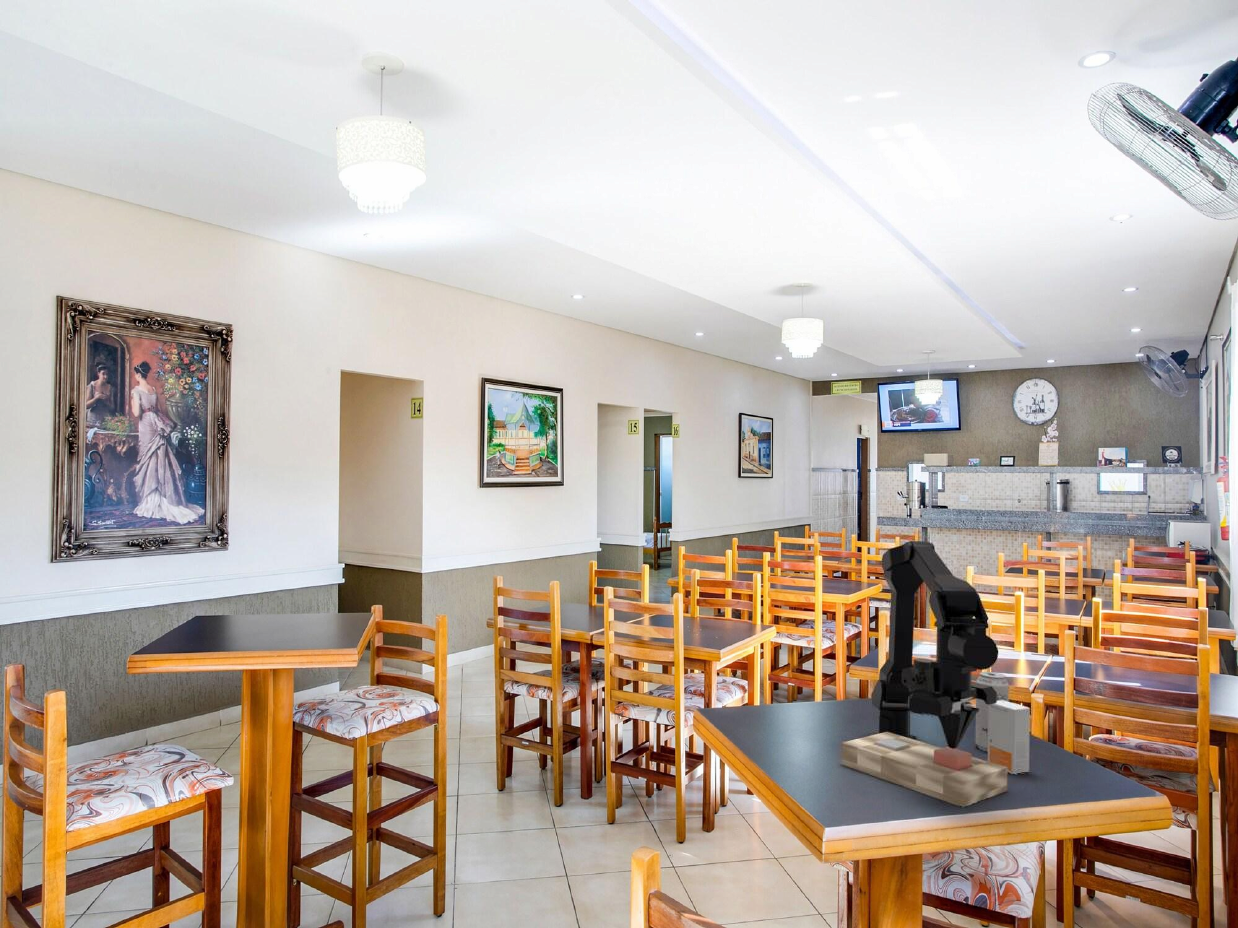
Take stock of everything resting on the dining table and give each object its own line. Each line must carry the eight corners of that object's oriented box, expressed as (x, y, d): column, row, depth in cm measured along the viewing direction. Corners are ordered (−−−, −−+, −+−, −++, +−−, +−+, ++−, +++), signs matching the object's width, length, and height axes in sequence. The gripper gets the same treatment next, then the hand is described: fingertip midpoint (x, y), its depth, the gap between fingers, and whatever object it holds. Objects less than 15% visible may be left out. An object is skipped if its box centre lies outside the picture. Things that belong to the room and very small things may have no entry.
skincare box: (986, 764, 150) (987, 701, 150) (1002, 762, 151) (1003, 699, 152) (1013, 775, 144) (1014, 709, 145) (1030, 772, 146) (1031, 707, 146)
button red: (947, 766, 140) (947, 746, 140) (971, 774, 136) (971, 753, 136) (933, 770, 137) (934, 750, 137) (957, 778, 133) (957, 757, 134)
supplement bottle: (910, 713, 186) (911, 661, 186) (905, 706, 192) (905, 656, 193) (941, 715, 184) (942, 663, 185) (934, 708, 191) (935, 658, 192)
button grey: (888, 756, 149) (889, 737, 149) (909, 763, 146) (909, 744, 146) (874, 760, 147) (874, 741, 147) (895, 767, 143) (895, 747, 143)
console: (886, 752, 155) (886, 731, 155) (1007, 790, 136) (1007, 767, 136) (841, 764, 147) (841, 742, 147) (962, 807, 127) (963, 782, 128)
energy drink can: (984, 753, 156) (985, 677, 157) (969, 744, 162) (970, 671, 163) (1014, 754, 156) (1014, 678, 157) (998, 745, 162) (999, 671, 163)
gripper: (941, 645, 149) (939, 728, 149) (881, 653, 138) (880, 743, 138) (998, 655, 140) (997, 744, 140) (940, 666, 129) (938, 762, 129)
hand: (952, 747), depth 137 cm, fingers closed
